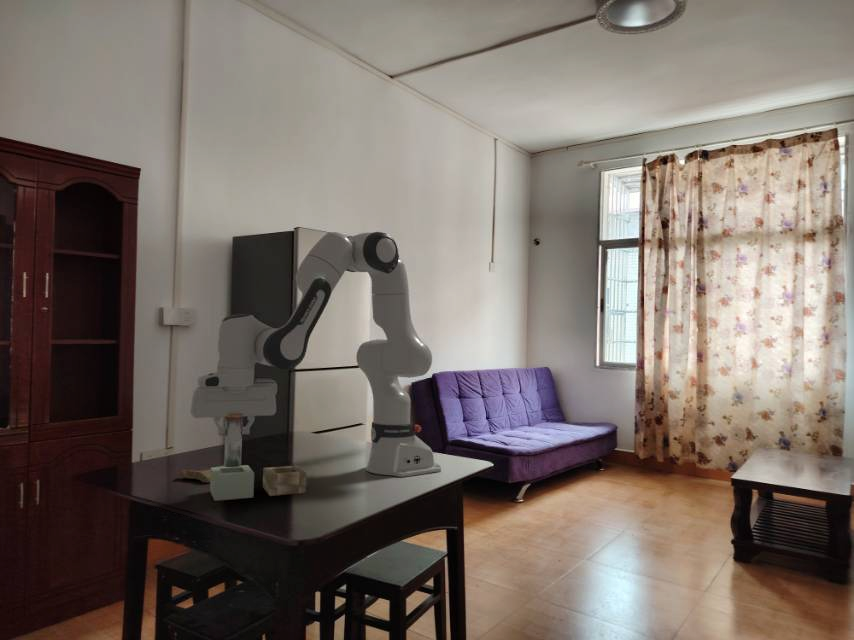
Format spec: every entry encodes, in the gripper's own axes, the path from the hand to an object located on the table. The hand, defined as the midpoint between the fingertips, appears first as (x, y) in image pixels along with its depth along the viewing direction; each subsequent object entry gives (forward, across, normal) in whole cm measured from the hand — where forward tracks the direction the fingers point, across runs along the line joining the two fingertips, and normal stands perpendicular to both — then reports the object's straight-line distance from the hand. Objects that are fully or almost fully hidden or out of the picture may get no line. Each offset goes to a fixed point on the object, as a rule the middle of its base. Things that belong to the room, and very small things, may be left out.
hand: (233, 434), depth 152 cm
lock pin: (+8, 0, 0) cm, 8 cm away
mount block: (+15, -13, 0) cm, 20 cm away
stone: (+15, +2, -20) cm, 25 cm away
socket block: (+15, 0, 0) cm, 15 cm away
